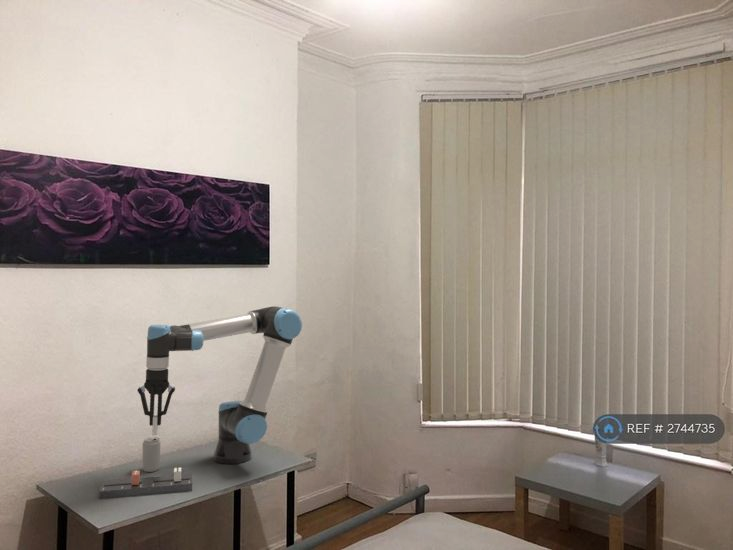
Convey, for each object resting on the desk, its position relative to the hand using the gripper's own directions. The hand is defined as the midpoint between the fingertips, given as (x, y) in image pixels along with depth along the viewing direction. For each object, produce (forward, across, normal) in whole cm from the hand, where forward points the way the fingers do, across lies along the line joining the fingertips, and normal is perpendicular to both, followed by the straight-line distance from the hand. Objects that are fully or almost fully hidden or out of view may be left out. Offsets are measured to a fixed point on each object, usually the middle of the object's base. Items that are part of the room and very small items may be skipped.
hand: (154, 434), depth 215 cm
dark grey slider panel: (+18, +1, +3) cm, 19 cm away
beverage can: (+19, +2, -17) cm, 25 cm away
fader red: (+16, +5, +4) cm, 17 cm away
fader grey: (+16, -9, +3) cm, 18 cm away
